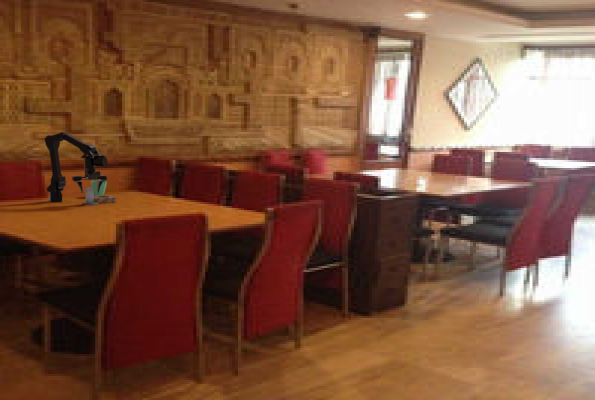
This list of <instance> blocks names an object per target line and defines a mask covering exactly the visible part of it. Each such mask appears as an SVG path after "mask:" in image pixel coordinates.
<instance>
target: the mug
mask: <svg viewBox="0 0 595 400" xmlns="http://www.w3.org/2000/svg"><path fill="white" fill-rule="evenodd" d="M104 181H105V182H103V183H102V184H101V187H100V190H99V192H97V180H90V188H94V196H102V195H105V191H106V188H107V184H108V182H107V181H108V180H104Z"/></svg>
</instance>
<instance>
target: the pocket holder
mask: <svg viewBox="0 0 595 400" xmlns="http://www.w3.org/2000/svg"><path fill="white" fill-rule="evenodd" d="M94 202H97V203H98V204H110V203H113V204H114V203H115V204H116V203H117V197H116V196H114V195H111V194H109V195H108V194H106V195H105V194H104V195H102V196H94Z"/></svg>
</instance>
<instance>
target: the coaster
mask: <svg viewBox="0 0 595 400" xmlns="http://www.w3.org/2000/svg"><path fill="white" fill-rule="evenodd" d="M81 205H82V206H97V205H99V203H97V202H94V203H93V204H86V201H85V202H82V203H81Z"/></svg>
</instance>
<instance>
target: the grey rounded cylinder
mask: <svg viewBox="0 0 595 400" xmlns="http://www.w3.org/2000/svg"><path fill="white" fill-rule="evenodd" d="M85 202H86V204H93V203H94V188H92V187H85Z"/></svg>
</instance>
